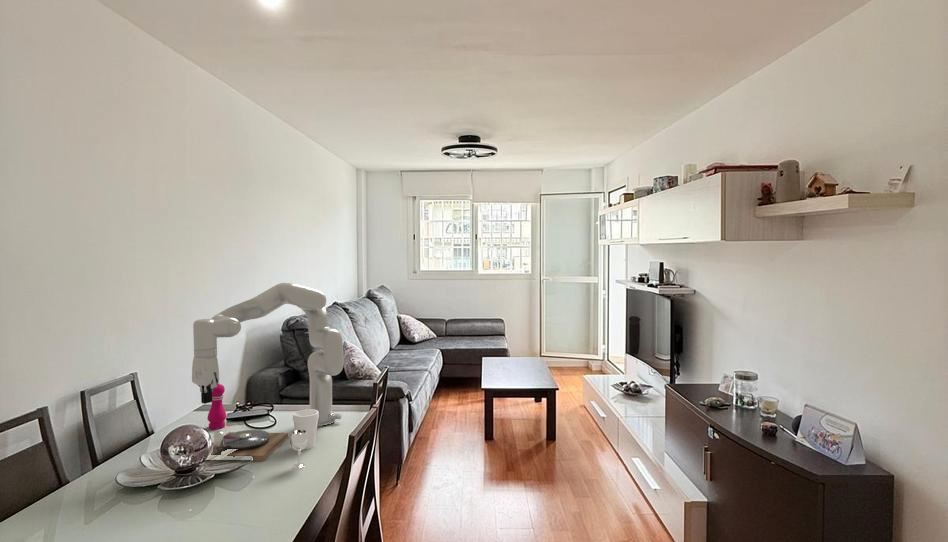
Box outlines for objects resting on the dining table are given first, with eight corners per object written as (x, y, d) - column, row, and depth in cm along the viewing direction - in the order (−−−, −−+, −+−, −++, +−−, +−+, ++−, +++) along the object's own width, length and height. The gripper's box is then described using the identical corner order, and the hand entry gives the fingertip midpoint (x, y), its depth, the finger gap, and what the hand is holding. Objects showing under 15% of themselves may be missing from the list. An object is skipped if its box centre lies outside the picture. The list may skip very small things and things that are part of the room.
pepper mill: (220, 430, 215) (221, 382, 214) (203, 429, 215) (203, 382, 215) (229, 424, 222) (229, 378, 222) (213, 424, 222) (213, 378, 222)
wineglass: (286, 467, 177) (286, 433, 177) (299, 461, 182) (299, 428, 182) (298, 470, 174) (298, 435, 174) (311, 464, 180) (311, 430, 179)
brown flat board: (288, 437, 206) (288, 432, 206) (263, 461, 182) (263, 455, 182) (224, 437, 206) (224, 431, 206) (191, 460, 182) (191, 454, 182)
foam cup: (287, 449, 194) (287, 415, 194) (301, 441, 203) (301, 408, 203) (310, 451, 192) (310, 417, 191) (323, 443, 201) (323, 410, 200)
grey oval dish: (247, 431, 206) (247, 413, 206) (279, 437, 198) (279, 419, 198) (199, 448, 186) (198, 429, 186) (231, 456, 179) (231, 436, 179)
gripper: (183, 352, 188) (185, 402, 188) (208, 356, 180) (209, 408, 181) (203, 349, 194) (204, 397, 195) (227, 353, 187) (228, 402, 187)
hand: (206, 402), depth 188 cm, fingers closed
